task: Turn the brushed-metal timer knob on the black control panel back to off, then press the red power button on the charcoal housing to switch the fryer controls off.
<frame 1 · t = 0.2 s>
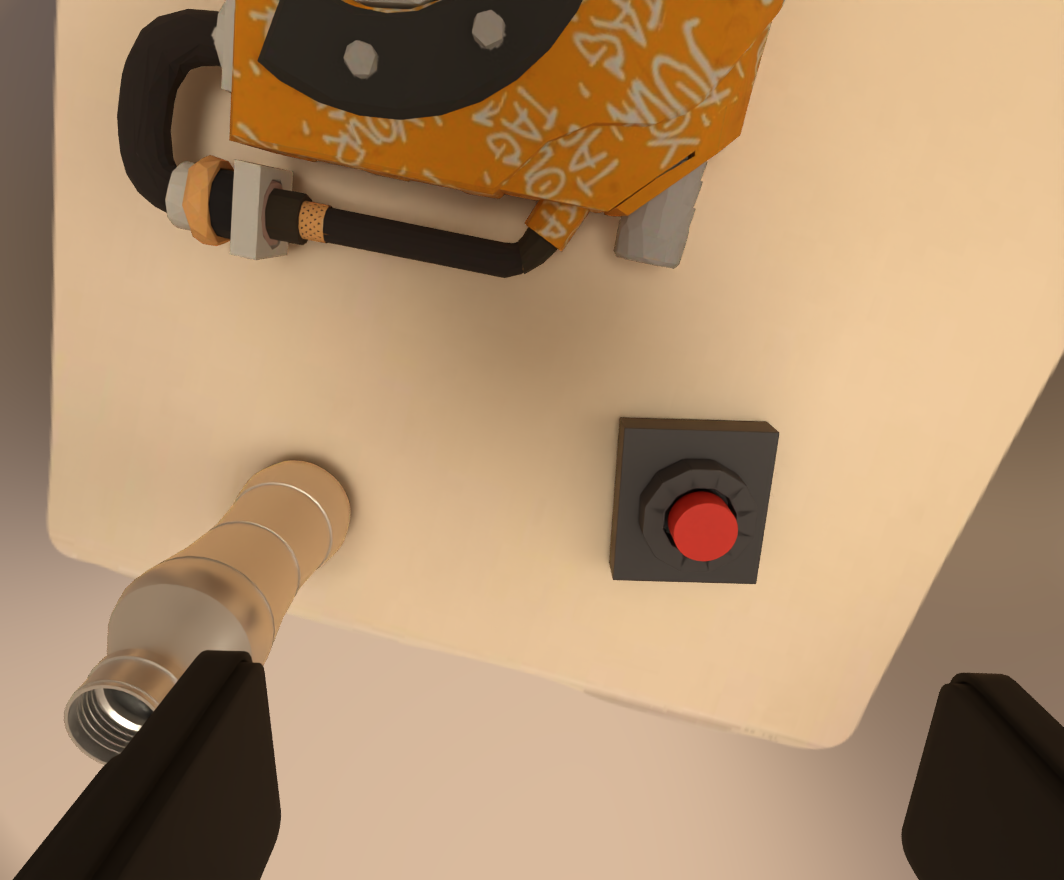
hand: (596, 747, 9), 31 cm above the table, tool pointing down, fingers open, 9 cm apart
device: (463, 61, 34), on the table
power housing: (685, 494, 41), on the table
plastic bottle: (309, 497, 42), on the table
power button: (702, 526, 37), point 4 cm above the table, slide at 0.1 cm
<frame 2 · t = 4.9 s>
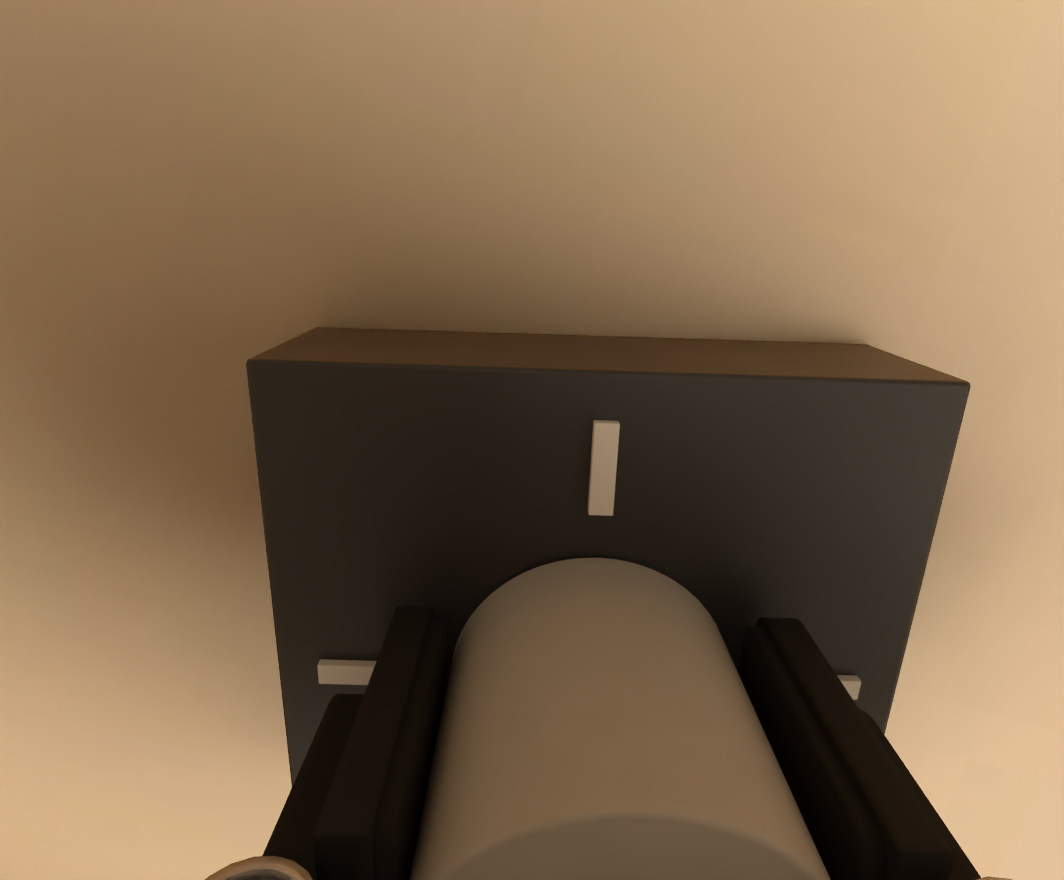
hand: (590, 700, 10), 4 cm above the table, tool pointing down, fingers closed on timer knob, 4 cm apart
timer knob: (602, 804, 8), point 5 cm above the table, hinge at 90.1°, touching gripper
timer panel: (577, 579, 13), on the table
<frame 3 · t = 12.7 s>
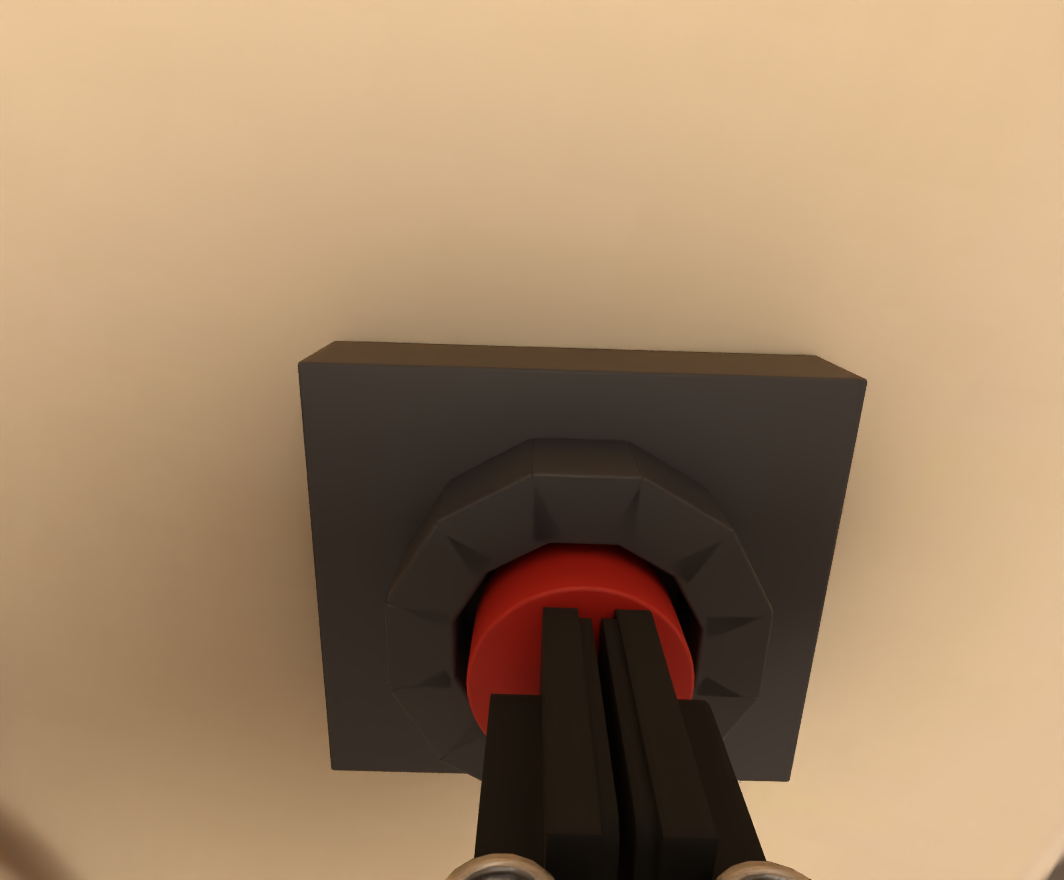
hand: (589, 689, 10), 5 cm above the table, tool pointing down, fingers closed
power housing: (565, 544, 15), on the table
power button: (577, 653, 11), point 4 cm above the table, slide at -0.4 cm, touching gripper
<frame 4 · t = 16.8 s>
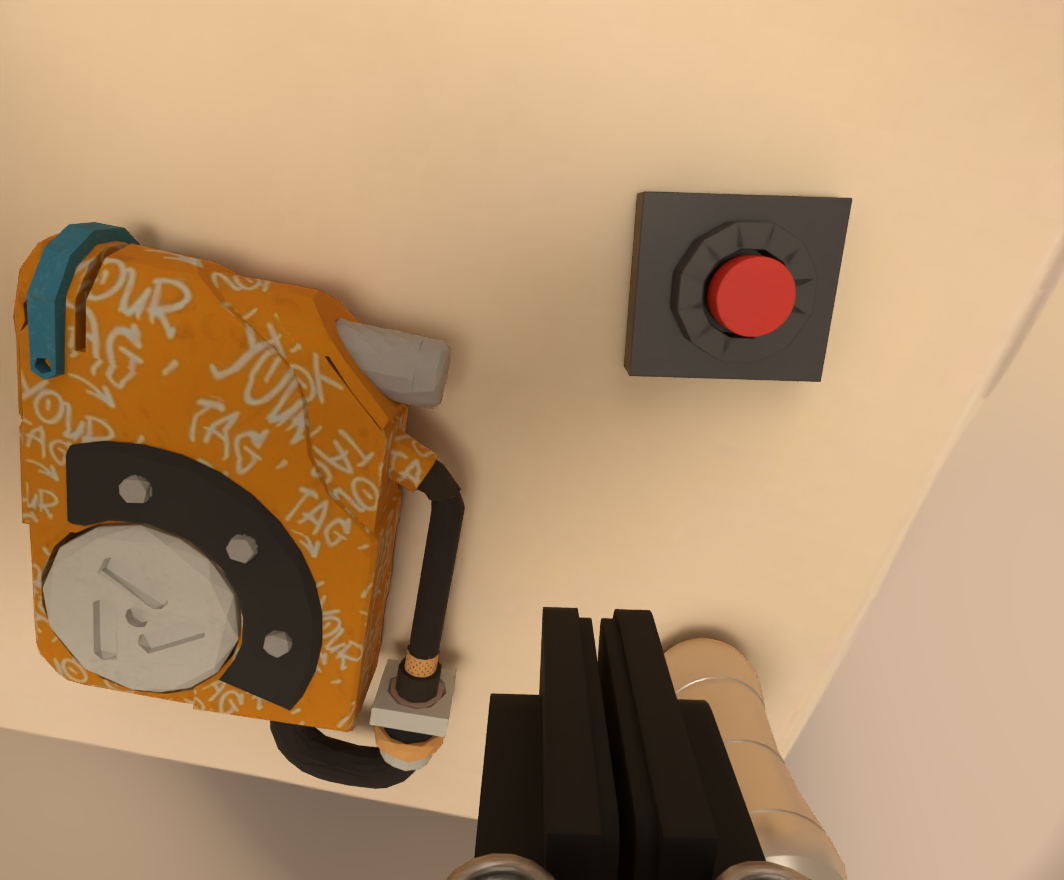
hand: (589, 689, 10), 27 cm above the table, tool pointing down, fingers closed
device: (295, 512, 39), on the table
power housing: (724, 286, 35), on the table
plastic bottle: (693, 665, 42), on the table
power button: (750, 295, 30), point 4 cm above the table, slide at 0.1 cm
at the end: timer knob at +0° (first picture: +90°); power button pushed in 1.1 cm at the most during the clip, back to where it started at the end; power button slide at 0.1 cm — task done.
